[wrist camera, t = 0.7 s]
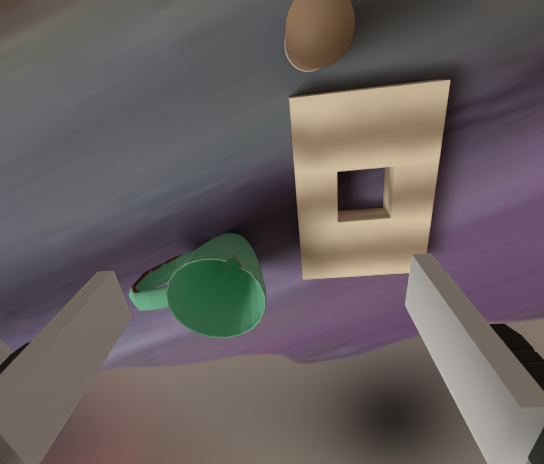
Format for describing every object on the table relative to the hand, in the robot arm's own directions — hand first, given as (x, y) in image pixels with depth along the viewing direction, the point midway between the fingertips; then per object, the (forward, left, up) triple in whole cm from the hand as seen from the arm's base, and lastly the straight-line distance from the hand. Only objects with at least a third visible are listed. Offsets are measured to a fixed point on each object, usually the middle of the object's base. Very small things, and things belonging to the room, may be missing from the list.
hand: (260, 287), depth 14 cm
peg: (-11, +4, -22) cm, 25 cm away
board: (+3, +9, -22) cm, 24 cm away
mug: (+10, -9, -22) cm, 26 cm away
